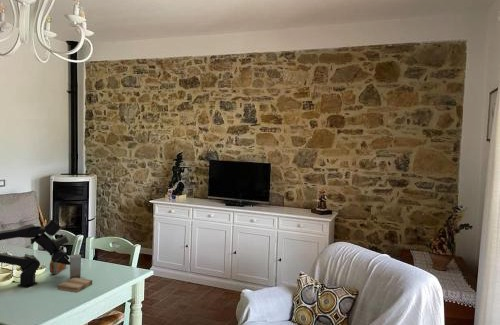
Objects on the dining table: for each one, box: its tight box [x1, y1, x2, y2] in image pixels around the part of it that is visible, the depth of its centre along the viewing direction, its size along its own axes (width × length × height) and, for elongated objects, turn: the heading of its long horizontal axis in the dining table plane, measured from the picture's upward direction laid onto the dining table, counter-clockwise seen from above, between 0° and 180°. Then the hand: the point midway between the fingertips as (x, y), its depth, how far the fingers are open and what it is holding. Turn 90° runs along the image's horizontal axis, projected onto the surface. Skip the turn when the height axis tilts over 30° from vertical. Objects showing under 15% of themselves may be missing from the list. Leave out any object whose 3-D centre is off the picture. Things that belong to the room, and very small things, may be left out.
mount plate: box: [57, 277, 93, 293], centre depth 195 cm, size 12×11×2 cm
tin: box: [49, 259, 67, 275], centre depth 215 cm, size 15×3×8 cm, turn 179°
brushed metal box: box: [69, 253, 82, 280], centre depth 205 cm, size 5×5×12 cm
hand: (69, 261), depth 203 cm, fingers open, 9 cm apart
